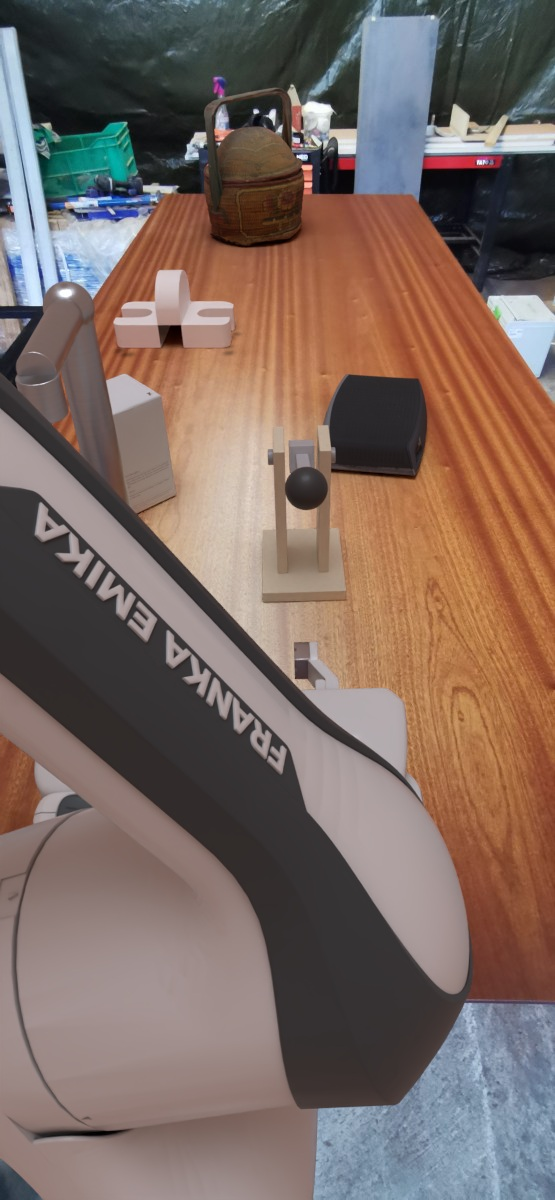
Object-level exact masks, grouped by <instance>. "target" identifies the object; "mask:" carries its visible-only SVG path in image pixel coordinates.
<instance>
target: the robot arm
mask: <svg viewBox="0 0 555 1200" xmlns="http://www.w3.org/2000/svg"><path fill="white" fill-rule="evenodd" d="M318 645H319V644H318V641H294V642H293V662H294V663H293V664H294V665H293V666H294V668H293V669H294V680H307V681H308V682H309V683H310V684H311V686H312V687H313V689H300V688H299V686H297V685H296V684H295V682H294V681H293V680H291V678H290V677H289V676H288V675H287V674H286V673H285V672H284V671H283V670H282V668H280V666H278V665H277V664H276V663H275V661H274V660H273V659H272V658H271V657H270V656H269V655H268V654H267V653H266V652H265V651H264V649H263V648H262V647H260V645H259V644H258V643H257V642H256V641H255V639H253V637H251V635H249V633H248V632H247V631H246V630H245V628H243V627H242V626H241V625H240V623H238V621H237V620H236V619H235V618H234V617H233V616H232V615H231V614H230V613H229V612H228V611H227V609H226V608H225V607H224V606H223V605H222V604H221V602H219V601H218V600H217V599H216V598H215V597H214V596H213V594H212V593H211V592H210V591H209V590H208V589H207V588H206V587H205V585H203V584H202V583H201V581H200V580H199V579H198V578H197V577H196V576H195V575H194V574H193V572H191V570H189V568H188V567H186V565H185V564H184V563H183V562H182V561H181V560H180V558H178V556H176V555H175V553H173V551H172V550H171V549H170V548H169V547H168V546H167V545H166V544H165V543H164V541H162V539H161V538H160V537H159V536H158V535H157V534H156V533H155V532H154V531H153V529H151V527H150V526H148V524H147V523H146V522H145V521H144V520H143V519H142V518H141V517H140V515H139V514H138V513H137V514H136V513H135V512H134V511H133V510H132V508H131V507H130V506H129V505H128V504H127V503H126V502H125V501H124V500H123V499H122V498H121V497H120V496H119V495H118V493H117V492H116V491H115V490H114V489H113V488H112V487H111V486H110V485H109V484H108V483H107V482H106V481H105V480H104V478H103V477H102V476H101V475H100V474H99V473H98V472H97V471H96V470H95V469H94V468H93V467H92V466H91V465H90V464H89V463H88V462H87V461H86V460H85V458H84V457H83V456H82V455H81V453H80V451H78V450H77V449H76V447H75V446H73V444H71V442H70V441H69V440H67V438H65V436H64V435H63V434H62V433H61V432H60V431H59V430H58V429H57V428H56V427H55V426H54V424H51V423H50V422H49V421H48V420H47V419H46V418H45V417H44V416H43V415H42V414H41V413H40V412H39V411H38V410H37V409H36V407H35V406H34V405H33V404H32V403H31V402H30V401H29V400H28V399H27V398H26V397H25V396H24V395H23V394H22V393H21V392H20V391H19V390H18V389H17V386H15V385H14V384H13V383H12V382H11V381H10V380H9V379H8V378H7V377H6V376H5V375H4V374H2V372H0V734H1V735H2V736H3V737H4V738H5V739H7V740H8V741H10V742H11V744H13V745H14V746H16V747H17V748H18V749H19V750H21V751H22V752H23V753H24V754H26V755H27V756H28V757H29V758H31V759H32V760H33V761H34V769H33V771H34V772H33V773H34V776H33V777H34V781H35V785H36V787H37V790H38V792H39V795H40V798H41V800H39V802H38V804H37V806H36V809H35V811H34V815H33V820H32V824H28V825H26V826H24V827H20V828H18V829H15V830H12V831H9V832H5V833H2V834H0V1160H2V1161H3V1162H4V1163H5V1164H6V1165H8V1166H9V1167H10V1168H11V1169H12V1170H13V1171H14V1172H15V1173H17V1175H19V1176H20V1177H21V1178H22V1179H23V1180H24V1181H25V1182H26V1183H27V1184H28V1185H29V1186H30V1188H31V1189H33V1191H35V1192H36V1194H37V1195H38V1196H39V1197H40V1198H41V1199H42V1200H314V1194H315V1193H314V1192H315V1181H316V1168H317V1167H316V1165H317V1149H318V1148H317V1147H318V1121H319V1120H318V1119H319V1109H339V1108H340V1109H342V1108H364V1107H365V1108H367V1107H383V1106H384V1107H385V1106H387V1107H388V1106H396V1105H398V1104H400V1103H401V1102H403V1101H402V1100H403V1099H404V1098H405V1097H406V1096H407V1094H408V1093H410V1091H411V1090H412V1088H413V1087H414V1086H415V1085H416V1083H417V1082H418V1081H419V1079H421V1077H422V1076H423V1074H424V1073H425V1072H426V1070H427V1068H428V1067H429V1065H430V1064H431V1063H432V1062H433V1060H434V1058H435V1057H436V1056H437V1054H438V1052H439V1051H440V1049H441V1048H442V1047H443V1046H444V1044H445V1041H446V1040H447V1038H448V1037H449V1035H450V1033H451V1031H452V1029H453V1028H454V1026H455V1024H456V1022H457V1021H458V1018H459V1016H460V1014H461V1012H462V1010H463V1008H464V1006H465V1003H466V1001H467V999H468V997H469V994H470V992H471V989H472V984H473V978H474V977H473V976H474V956H473V945H472V937H471V930H470V926H469V921H468V916H467V910H466V909H467V908H466V903H465V899H464V895H463V892H462V891H463V890H462V886H461V883H460V879H459V877H458V872H457V870H456V867H455V864H454V862H453V859H452V856H451V853H450V850H449V848H448V846H447V843H446V841H445V840H444V838H443V836H442V834H441V832H440V830H439V828H438V826H437V824H436V822H435V821H434V819H433V818H432V816H431V815H430V813H429V811H428V810H427V808H426V807H425V804H424V798H423V792H422V789H421V787H420V785H419V783H418V782H417V780H416V778H414V777H413V776H412V775H411V774H410V773H409V772H407V767H408V765H407V764H408V721H407V713H406V712H407V711H406V705H405V702H404V700H403V699H402V698H401V697H400V696H399V695H397V694H396V693H395V692H394V691H392V690H391V689H390V688H387V687H357V688H356V687H352V688H350V687H349V688H348V687H347V688H340V679H339V677H338V676H337V675H336V674H335V673H334V672H333V671H332V670H331V669H330V668H329V667H328V665H326V664H325V663H324V662H323V661H322V659H319V647H318Z"/></svg>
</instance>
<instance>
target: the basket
mask: <svg viewBox="0 0 555 1200" xmlns="http://www.w3.org/2000/svg"><path fill="white" fill-rule="evenodd" d="M264 96H279V97H280V98H281V102H282V129H281V135H279V134H278V133H276V132H274V131H273V130H271V129H269V128H267V127H264V126H247V127H246V126H245V127H240V128H235V129H233V130H232V131H230V132H229V133H228V134H226V136H225V137H224V138H223V139H222V140H221V142H220V143H219V145H218V146H217V140H216V132H215V112H216V110H217V109H218V108H219V107H221V106H223V105H227V104H231V103H232V102H238V101H239V102H240V101H244V100H248V99H254V98H259V97H264ZM292 108H293V105H292V98H291V96H290V94H289V92H287V90H285V89H283V88H281V87H271V88H264V89H259V90H253V91H248V92H243V93H239V94H233V95H229V96H224V97H221V98H217V99H214V100H212V101H211V102H209V103H208V104H207V105H206V106H205V108H204V111H203V117H204V126H205V128H204V129H205V136H206V145H207V157H208V158H207V160H208V164H207V165H206V166H205V167H204V168H203V177H204V183H203V188H204V196H205V197H204V198H205V201H206V206H207V211H208V212H207V213H208V217H209V223H210V225H211V226H210V228H211V232H210V235H211V237H213V238H214V239H216V240H219V241H220V242H224V243H228V244H232V245H236V246H244V247H248V246H253V245H257V244H261V243H264V242H270V243H282V242H286V241H289V240H291V239H292V238H293V237H294V236H295V235H296V233H297V232H298V231H299V230H300V228H302V227H303V220H302V213H303V212H302V211H303V202H304V194H305V174H304V168H303V164H304V163H303V161H302V159H300V158H299V157H296V156H295V154H294V152H293V147H292V146H293V109H292Z"/></svg>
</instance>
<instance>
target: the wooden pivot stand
mask: <svg viewBox="0 0 555 1200" xmlns="http://www.w3.org/2000/svg"><path fill="white" fill-rule="evenodd" d="M316 427H317V428H316V469H317V470H319V471H320V472H321V473H322V474H323V475H324V477H325V478H326V481H327V484H328V492H327V496H326V498H325V500H324V502H323V503H322V504H321V505H320V506H318V507H317V508H316V513H315V514H316V515H315V516H316V517H315V518H316V521H315V522H316V525H315V526H316V527H315V528H287V527H288V524H287V523H288V522H287V497H286V494H285V483H286V454H285V453H286V452H285V451H286V448H285V427H284V426H273V427H272V448H267V465H268V466H273V488H274V491H273V492H274V513H275V514H274V515H275V529H262V557H261V558H262V561H261V562H262V567H261V569H262V570H261V572H262V573H261V591H262V592H261V598H262V602H263V603H275V602H276V603H278V602H279V603H281V602H284V603H285V602H312V601H313V602H314V601H315V602H317V601H345V600H347V585H346V578H345V570H344V561H343V552H342V545H341V536H340V528H339V527H331V525H330V524H331V523H330V522H331V490H332V489H331V486H332V485H331V483H332V469H331V463H335V461H336V452H335V447H331V443H330V435H329V427H328V425H323V424H321V425H317V426H316Z"/></svg>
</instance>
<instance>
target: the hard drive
mask: <svg viewBox="0 0 555 1200" xmlns="http://www.w3.org/2000/svg"><path fill="white" fill-rule="evenodd" d="M322 425H328V427H329V435H330V443H331V447H335V452H336V461H335V463H331V470H340V471H351V472H365V473H366V472H367V473H375V474H376V473H377V474H379V473H380V474H387V475H402V476H414V477H415V476H416V474H418V471H419V469H420V466H421V462H422V458H423V454H424V451H425V446H426V439H427V432H428V411H427V404H426V397H425V393H424V388H423V386H422V384H421V381H420V379H419V378H418V377H416V378H413V377H396V376H395V377H393V376H378V375H364V374H349V373H346V374H345V375H344V376H343V377H342V379H341V380H340V382H339V384H338V385H337V387H336V389H335V391H334V393H333V394H332V396H331V399H330V401H329V404H328V407H327V410H326V413H325V416H324V419H323V423H322Z"/></svg>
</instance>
